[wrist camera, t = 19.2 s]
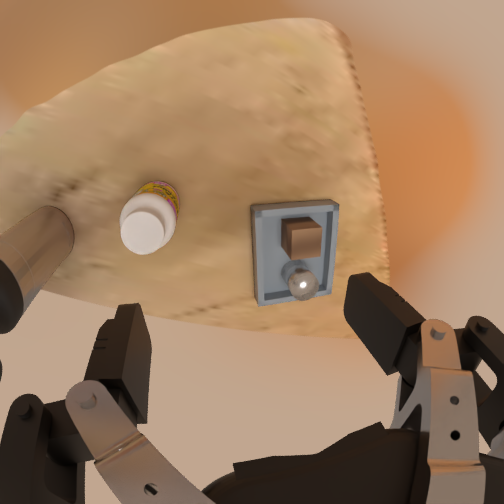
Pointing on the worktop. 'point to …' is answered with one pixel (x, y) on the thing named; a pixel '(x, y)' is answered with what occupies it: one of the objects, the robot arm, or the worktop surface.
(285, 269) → the grey rounded cylinder
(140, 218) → the supplement bottle
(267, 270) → the parts tray
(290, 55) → the worktop surface
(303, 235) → the walnut block
